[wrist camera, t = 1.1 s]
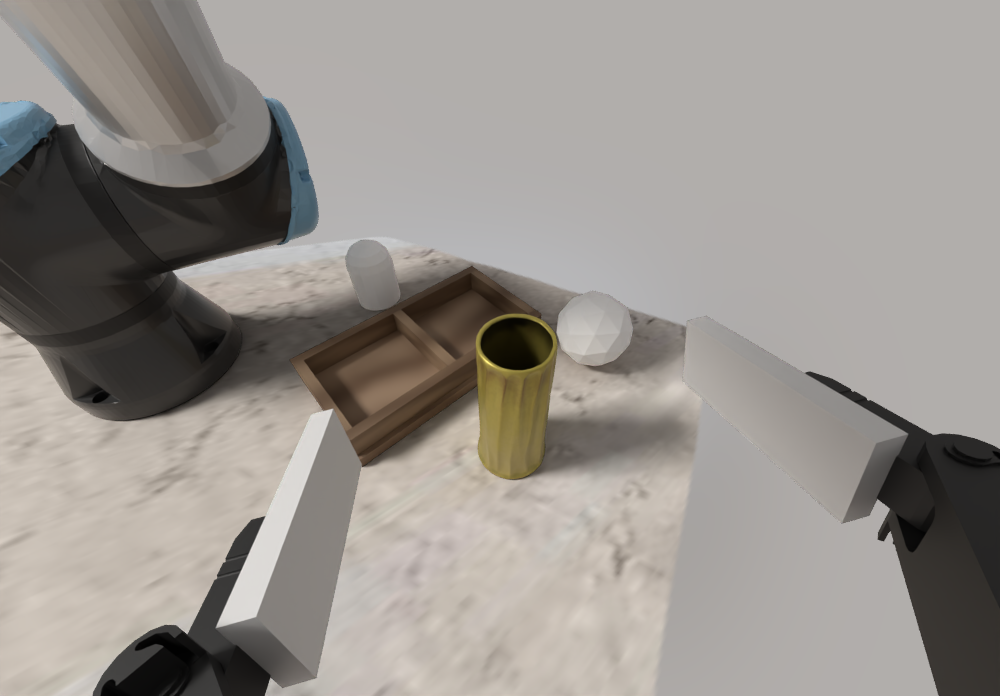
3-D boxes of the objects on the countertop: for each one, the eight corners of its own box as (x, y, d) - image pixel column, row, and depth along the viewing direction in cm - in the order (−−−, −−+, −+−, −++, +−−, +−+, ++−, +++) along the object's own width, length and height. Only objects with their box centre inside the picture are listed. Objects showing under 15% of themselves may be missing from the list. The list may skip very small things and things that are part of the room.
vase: (544, 420, 36) (563, 310, 25) (544, 482, 32) (567, 382, 21) (481, 416, 36) (474, 306, 26) (474, 477, 32) (461, 376, 21)
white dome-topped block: (367, 282, 50) (350, 229, 44) (405, 285, 50) (393, 232, 44) (352, 308, 47) (331, 254, 41) (393, 312, 46) (377, 257, 40)
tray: (302, 379, 39) (287, 356, 36) (471, 287, 50) (469, 264, 47) (362, 466, 33) (349, 447, 30) (541, 339, 43) (544, 316, 40)
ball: (571, 356, 45) (568, 290, 43) (640, 360, 41) (640, 286, 39) (545, 372, 39) (542, 294, 37) (625, 378, 34) (624, 291, 33)
